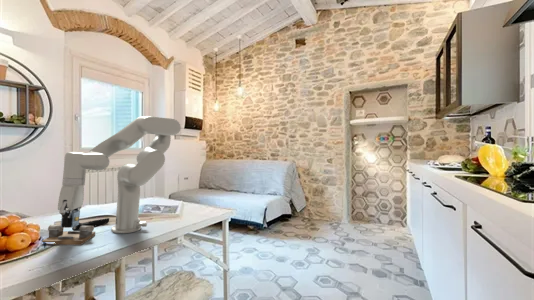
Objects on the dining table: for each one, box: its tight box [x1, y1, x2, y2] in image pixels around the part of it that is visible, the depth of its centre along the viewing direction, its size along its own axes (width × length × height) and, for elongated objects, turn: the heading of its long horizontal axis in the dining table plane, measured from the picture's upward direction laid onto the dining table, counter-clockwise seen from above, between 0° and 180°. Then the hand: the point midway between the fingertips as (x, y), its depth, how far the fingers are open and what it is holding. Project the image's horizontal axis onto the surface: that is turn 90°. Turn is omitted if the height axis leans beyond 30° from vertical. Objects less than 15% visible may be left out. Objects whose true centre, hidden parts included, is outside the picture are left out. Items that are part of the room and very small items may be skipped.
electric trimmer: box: [71, 217, 110, 231], centre depth 124 cm, size 4×16×3 cm, turn 148°
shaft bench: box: [41, 224, 96, 246], centre depth 106 cm, size 16×11×6 cm
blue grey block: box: [60, 209, 81, 229], centre depth 106 cm, size 6×4×6 cm
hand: (70, 224), depth 106 cm, fingers closed on blue grey block, 4 cm apart
